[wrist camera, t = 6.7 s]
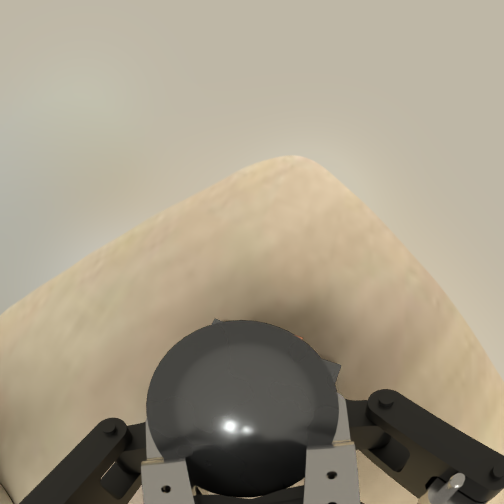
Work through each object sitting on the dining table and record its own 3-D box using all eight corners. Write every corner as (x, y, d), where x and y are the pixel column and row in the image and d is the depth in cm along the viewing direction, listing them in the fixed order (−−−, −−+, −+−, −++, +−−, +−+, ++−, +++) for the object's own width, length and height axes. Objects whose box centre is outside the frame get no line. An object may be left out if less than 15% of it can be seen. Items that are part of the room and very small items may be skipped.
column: (206, 420, 17) (120, 443, 5) (234, 360, 19) (194, 293, 8) (272, 446, 16) (292, 518, 4) (298, 385, 18) (363, 355, 7)
